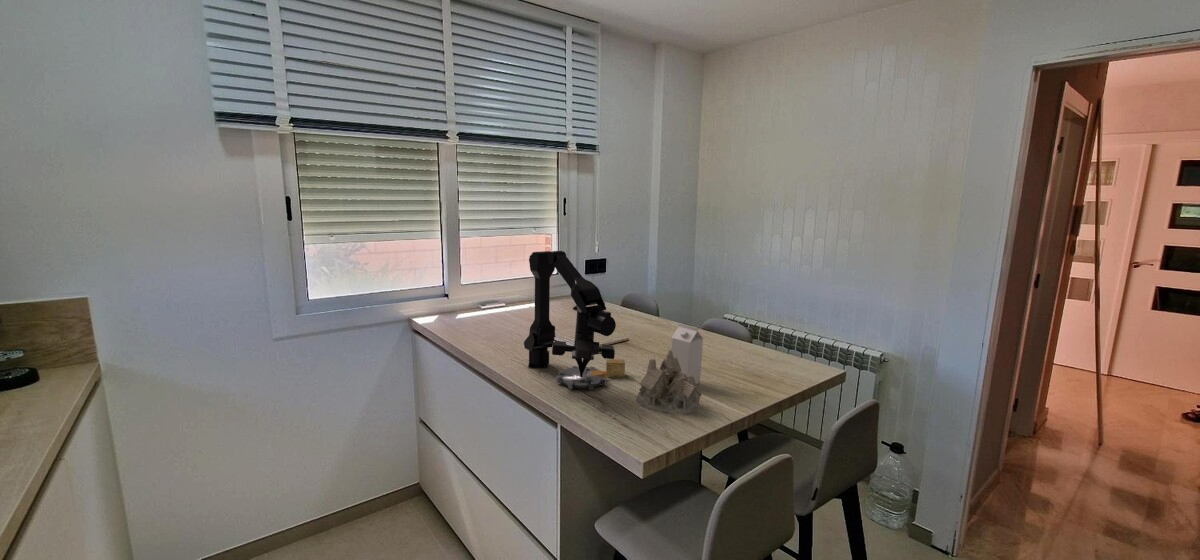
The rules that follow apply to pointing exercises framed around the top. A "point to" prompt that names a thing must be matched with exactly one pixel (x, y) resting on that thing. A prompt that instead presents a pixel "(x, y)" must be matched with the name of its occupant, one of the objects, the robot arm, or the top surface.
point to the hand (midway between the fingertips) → (581, 376)
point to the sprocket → (587, 380)
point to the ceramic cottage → (668, 388)
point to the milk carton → (688, 350)
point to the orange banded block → (615, 367)
